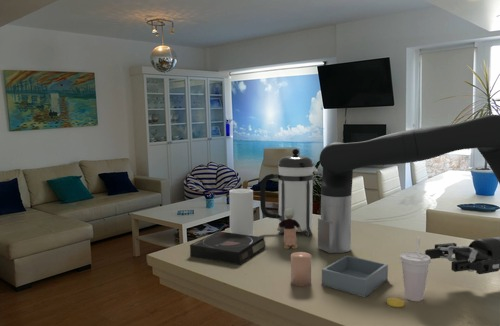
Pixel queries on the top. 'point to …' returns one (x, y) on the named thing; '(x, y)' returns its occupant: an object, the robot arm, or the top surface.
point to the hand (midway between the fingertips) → (438, 260)
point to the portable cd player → (227, 247)
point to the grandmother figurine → (289, 229)
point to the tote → (355, 275)
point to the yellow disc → (395, 302)
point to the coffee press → (293, 190)
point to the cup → (241, 211)
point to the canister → (301, 269)
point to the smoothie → (415, 273)
